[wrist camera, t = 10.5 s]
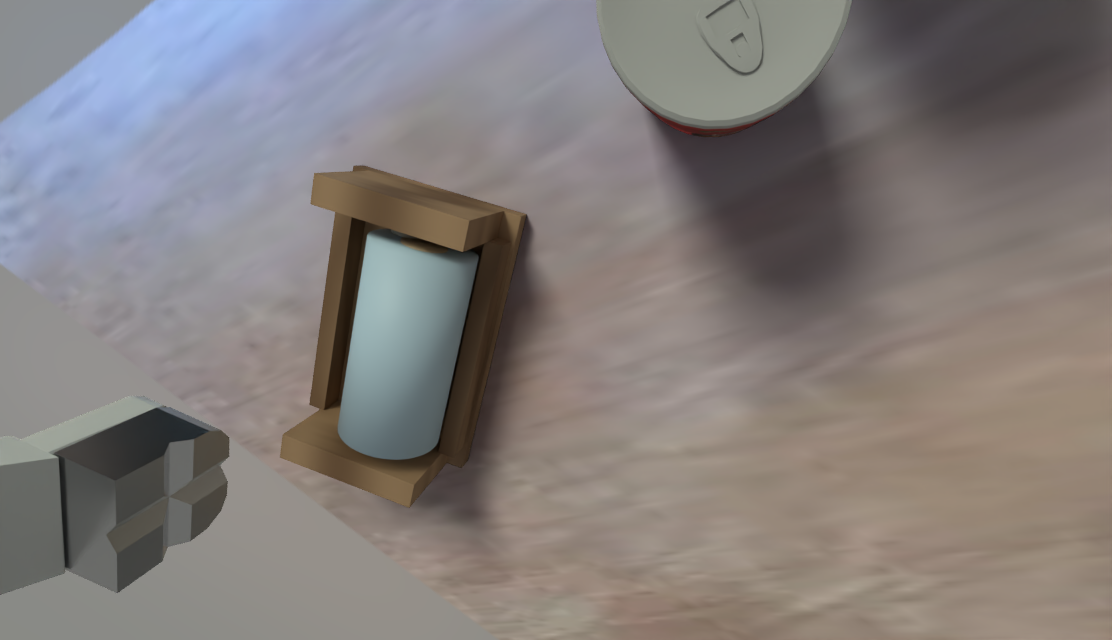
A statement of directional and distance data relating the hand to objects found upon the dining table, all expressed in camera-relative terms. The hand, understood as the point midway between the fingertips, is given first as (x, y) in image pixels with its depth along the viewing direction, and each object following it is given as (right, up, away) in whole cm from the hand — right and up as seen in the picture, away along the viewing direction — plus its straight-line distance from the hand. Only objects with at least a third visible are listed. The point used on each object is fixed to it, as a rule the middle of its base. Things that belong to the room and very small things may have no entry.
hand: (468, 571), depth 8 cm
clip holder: (-7, +3, +27) cm, 29 cm away
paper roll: (-7, +3, +26) cm, 27 cm away
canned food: (+9, +16, +20) cm, 27 cm away
